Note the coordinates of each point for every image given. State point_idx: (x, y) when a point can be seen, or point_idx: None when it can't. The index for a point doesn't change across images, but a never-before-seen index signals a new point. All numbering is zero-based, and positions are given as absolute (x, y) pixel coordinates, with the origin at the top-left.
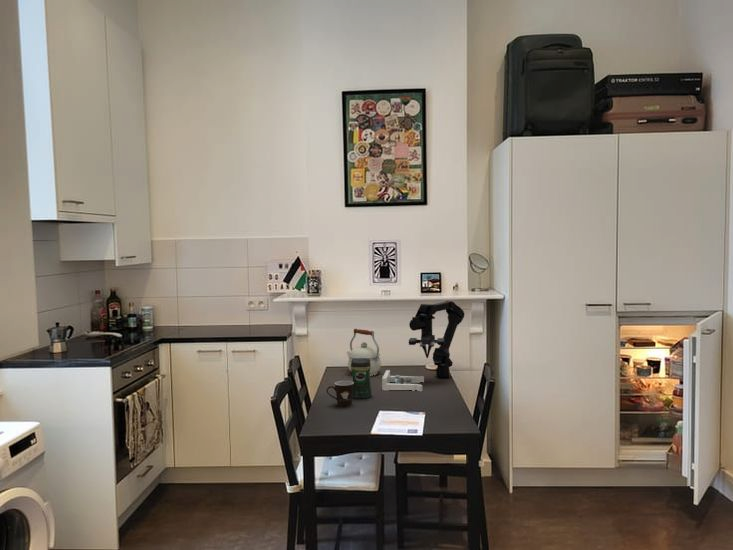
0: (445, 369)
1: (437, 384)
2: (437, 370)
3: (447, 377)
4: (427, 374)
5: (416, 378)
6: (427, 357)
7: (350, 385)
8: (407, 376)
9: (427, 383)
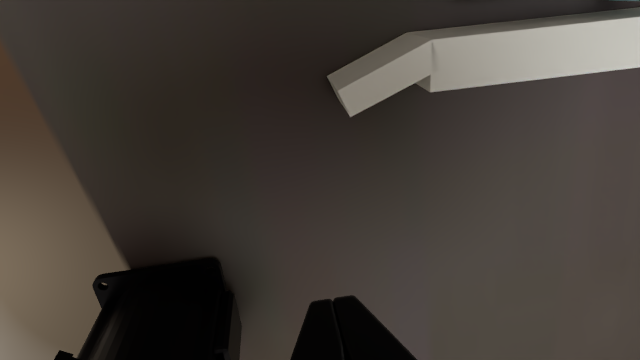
0: (106, 347)
1: (148, 10)
2: (214, 333)
3: (111, 277)
4: None
5: (427, 38)
6: (325, 306)
7: None
8: (547, 64)
9: (280, 38)
